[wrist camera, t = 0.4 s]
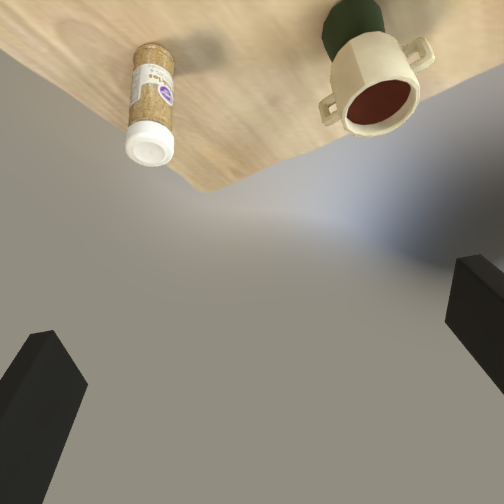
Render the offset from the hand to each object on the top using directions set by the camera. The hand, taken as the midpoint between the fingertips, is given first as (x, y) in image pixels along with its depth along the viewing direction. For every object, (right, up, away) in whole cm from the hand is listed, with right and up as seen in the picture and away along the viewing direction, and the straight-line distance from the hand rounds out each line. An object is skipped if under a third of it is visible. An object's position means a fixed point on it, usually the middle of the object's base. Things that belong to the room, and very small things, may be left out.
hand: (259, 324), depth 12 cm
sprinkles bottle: (-11, +24, +27) cm, 38 cm away
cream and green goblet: (+10, +27, +26) cm, 39 cm away
